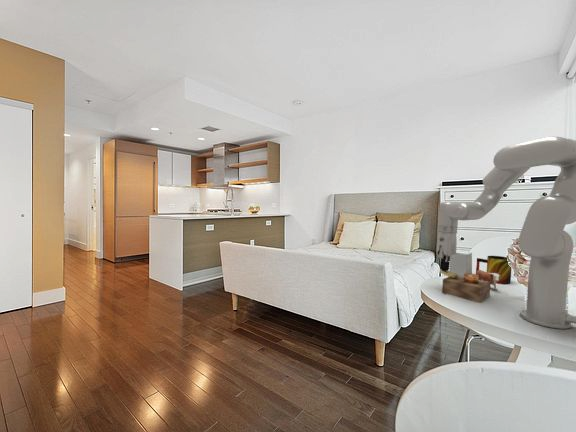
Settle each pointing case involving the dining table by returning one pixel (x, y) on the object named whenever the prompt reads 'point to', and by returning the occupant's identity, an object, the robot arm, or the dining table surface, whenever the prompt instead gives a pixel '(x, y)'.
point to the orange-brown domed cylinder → (471, 278)
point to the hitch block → (466, 289)
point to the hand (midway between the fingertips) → (444, 269)
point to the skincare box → (461, 263)
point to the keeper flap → (449, 274)
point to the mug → (497, 268)
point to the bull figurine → (488, 277)
